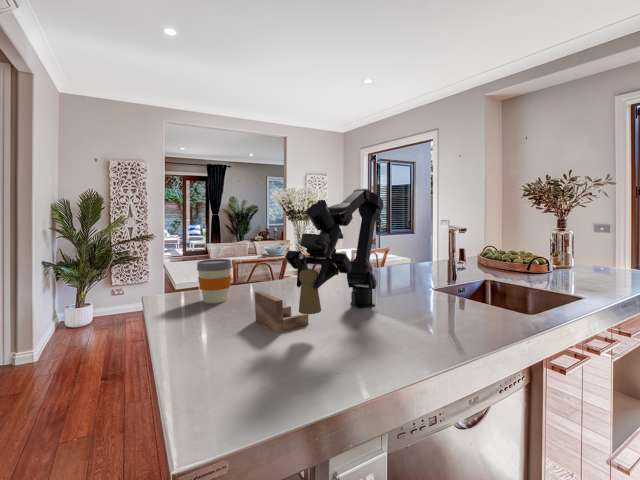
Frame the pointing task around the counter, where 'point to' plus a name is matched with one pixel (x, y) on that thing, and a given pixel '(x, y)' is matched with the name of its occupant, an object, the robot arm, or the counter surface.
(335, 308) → the counter surface
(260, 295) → the post bracket
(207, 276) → the reusable coffee cup
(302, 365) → the counter surface
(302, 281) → the cork
